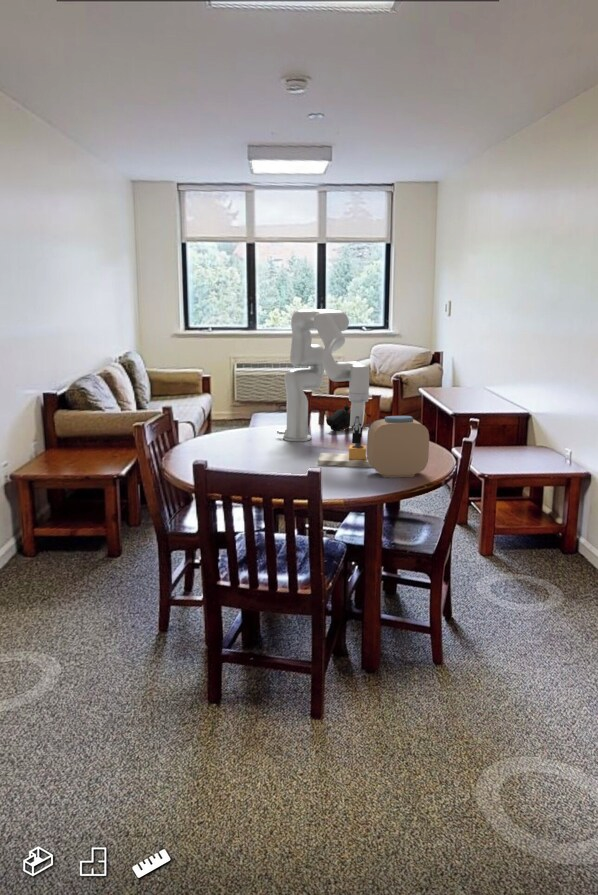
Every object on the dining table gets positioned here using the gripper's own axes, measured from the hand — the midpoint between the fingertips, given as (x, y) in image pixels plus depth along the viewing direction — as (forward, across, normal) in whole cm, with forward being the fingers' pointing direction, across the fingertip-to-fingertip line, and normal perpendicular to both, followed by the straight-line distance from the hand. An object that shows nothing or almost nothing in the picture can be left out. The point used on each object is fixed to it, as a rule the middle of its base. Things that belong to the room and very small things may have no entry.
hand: (356, 440), depth 267 cm
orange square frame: (+7, +1, 0) cm, 7 cm away
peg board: (+9, +1, -3) cm, 10 cm away
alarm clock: (+8, +16, +16) cm, 24 cm away
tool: (+11, -63, -8) cm, 64 cm away
